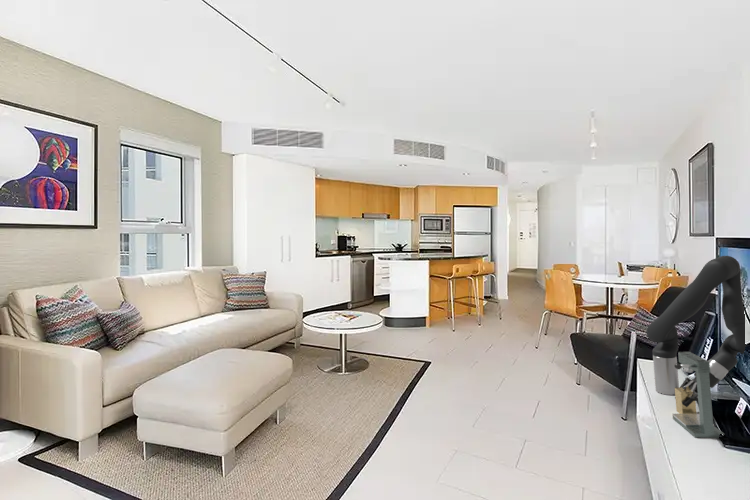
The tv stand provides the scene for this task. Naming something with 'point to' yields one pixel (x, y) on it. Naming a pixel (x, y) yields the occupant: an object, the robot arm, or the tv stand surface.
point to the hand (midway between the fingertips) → (680, 402)
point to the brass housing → (680, 397)
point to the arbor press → (703, 421)
